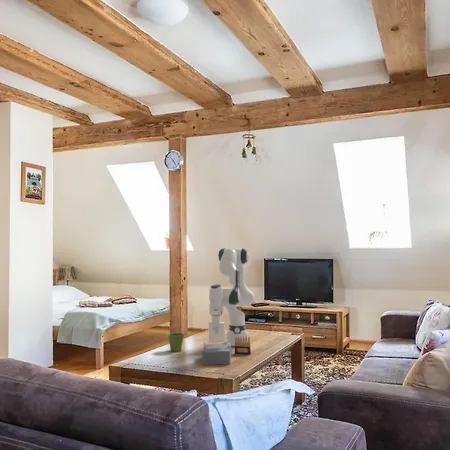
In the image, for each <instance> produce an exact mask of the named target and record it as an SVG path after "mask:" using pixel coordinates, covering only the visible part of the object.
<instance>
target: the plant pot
mask: <svg viewBox="0 0 450 450" xmlns="http://www.w3.org/2000/svg"><path fill="white" fill-rule="evenodd" d="M184 336H185V333H183V332H171V333H167V337H168V341H169V342H168V343H169V347H170V351H171V352H180V351H182V347H183V341H184Z"/></svg>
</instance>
